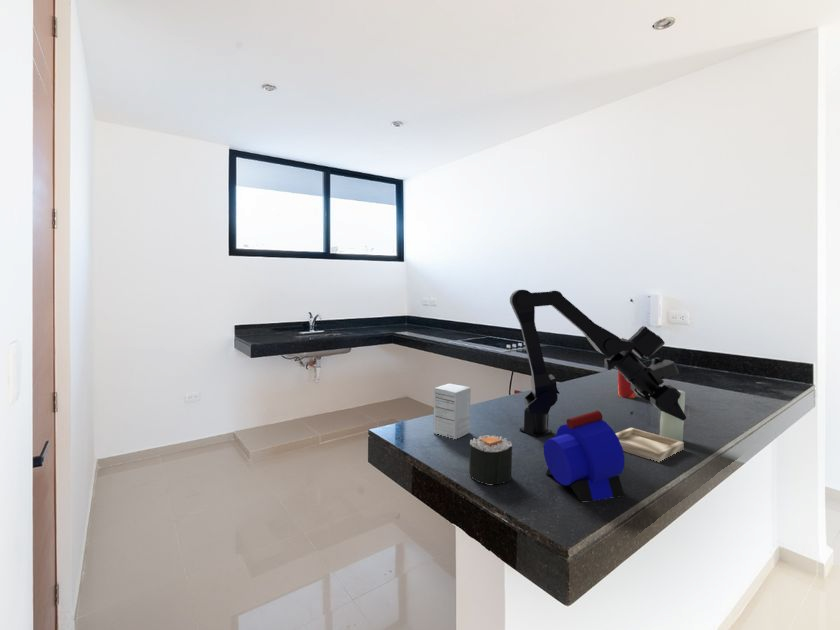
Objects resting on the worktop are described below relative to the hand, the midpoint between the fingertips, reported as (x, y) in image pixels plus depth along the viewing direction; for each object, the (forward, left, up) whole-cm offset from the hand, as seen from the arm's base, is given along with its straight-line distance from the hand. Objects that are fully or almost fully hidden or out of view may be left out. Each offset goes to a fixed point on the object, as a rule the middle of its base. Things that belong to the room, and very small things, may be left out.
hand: (676, 413), depth 109 cm
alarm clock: (-44, 0, -7) cm, 44 cm away
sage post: (-1, +1, -7) cm, 7 cm away
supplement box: (-46, +37, -7) cm, 59 cm away
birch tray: (-12, +2, -7) cm, 14 cm away
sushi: (-56, +13, -7) cm, 58 cm away
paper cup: (+34, +31, -7) cm, 47 cm away
